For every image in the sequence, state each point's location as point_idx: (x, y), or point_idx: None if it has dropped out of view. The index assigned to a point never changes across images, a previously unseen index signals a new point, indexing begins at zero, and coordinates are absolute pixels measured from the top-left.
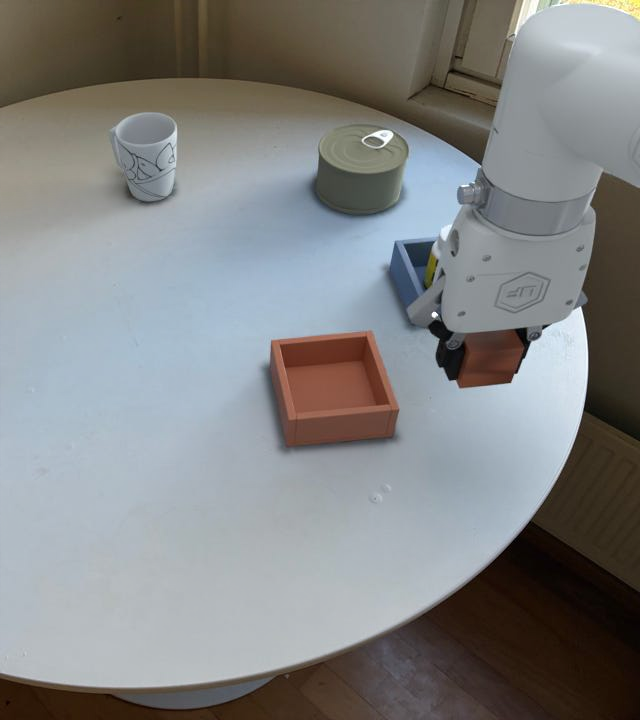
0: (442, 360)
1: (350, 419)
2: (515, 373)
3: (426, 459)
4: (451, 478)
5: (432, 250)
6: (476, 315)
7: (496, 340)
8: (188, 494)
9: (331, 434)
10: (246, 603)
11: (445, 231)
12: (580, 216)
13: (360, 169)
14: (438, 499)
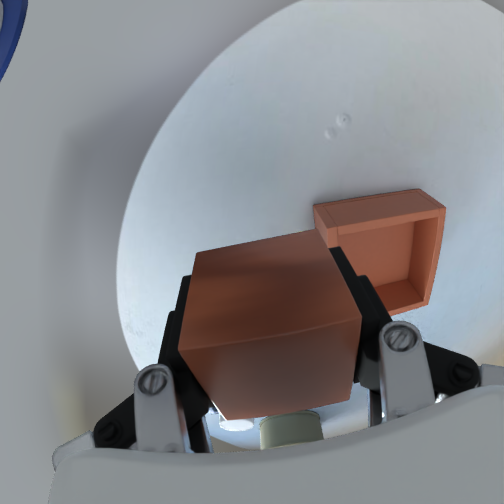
0: (375, 290)
1: (381, 213)
2: (187, 276)
3: (277, 175)
4: (250, 150)
5: None
6: (486, 493)
7: (262, 366)
8: (488, 142)
9: (386, 199)
10: (453, 31)
11: (248, 427)
12: None
13: (299, 443)
14: (270, 119)
